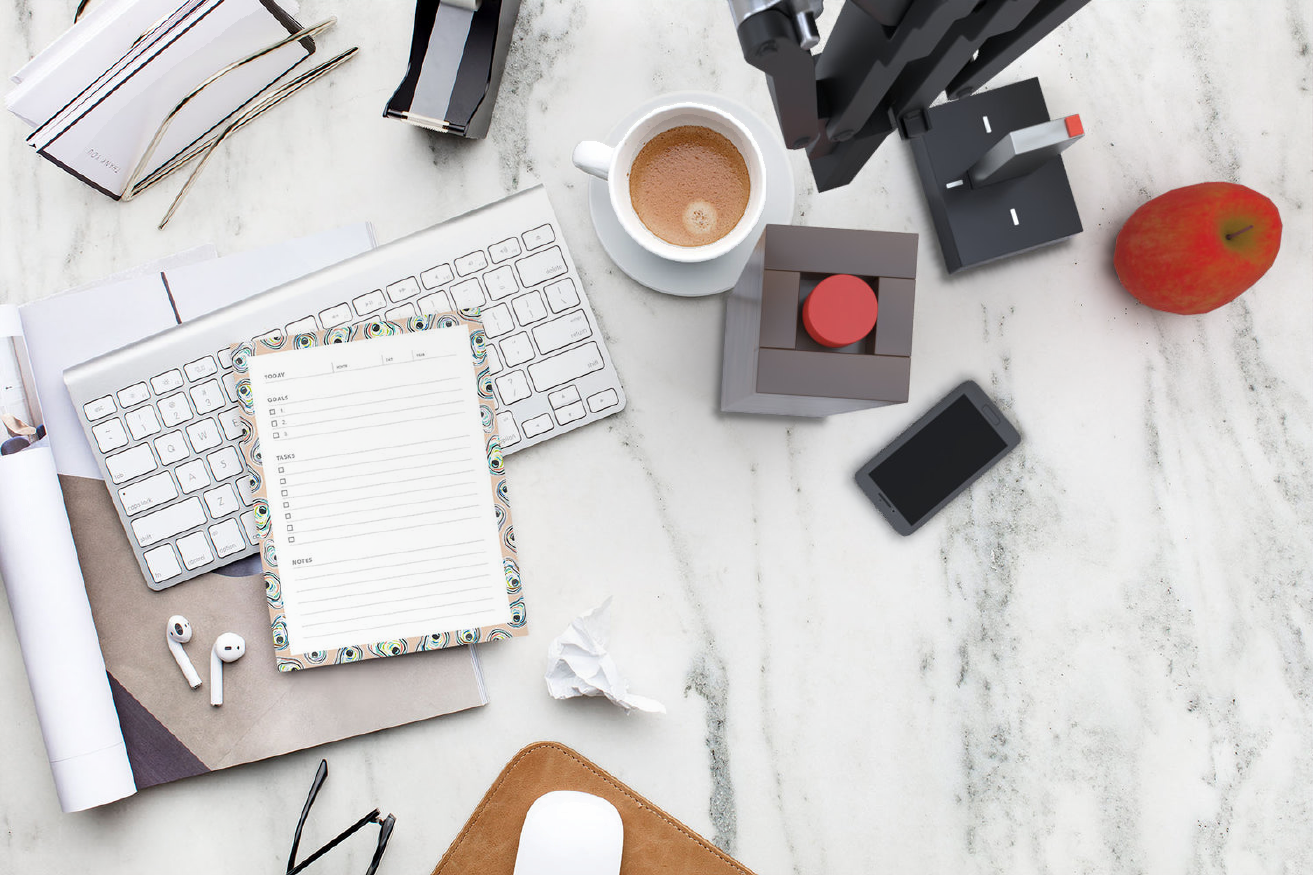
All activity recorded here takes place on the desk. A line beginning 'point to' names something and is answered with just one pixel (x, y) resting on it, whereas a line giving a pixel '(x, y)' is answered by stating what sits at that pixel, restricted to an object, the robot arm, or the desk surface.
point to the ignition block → (778, 345)
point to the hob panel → (999, 211)
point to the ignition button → (840, 311)
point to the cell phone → (937, 458)
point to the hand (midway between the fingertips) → (825, 160)
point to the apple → (1197, 247)
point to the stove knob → (1025, 150)
